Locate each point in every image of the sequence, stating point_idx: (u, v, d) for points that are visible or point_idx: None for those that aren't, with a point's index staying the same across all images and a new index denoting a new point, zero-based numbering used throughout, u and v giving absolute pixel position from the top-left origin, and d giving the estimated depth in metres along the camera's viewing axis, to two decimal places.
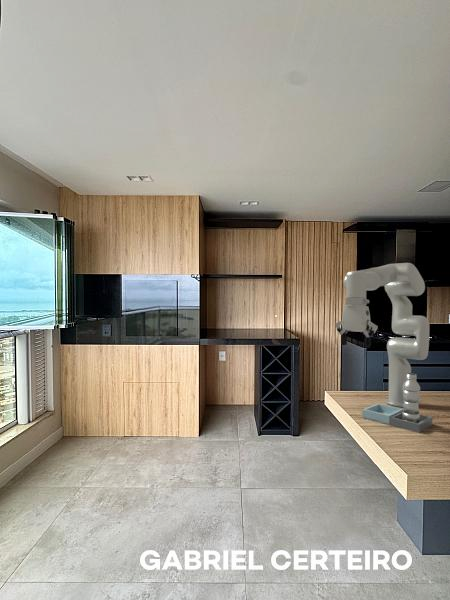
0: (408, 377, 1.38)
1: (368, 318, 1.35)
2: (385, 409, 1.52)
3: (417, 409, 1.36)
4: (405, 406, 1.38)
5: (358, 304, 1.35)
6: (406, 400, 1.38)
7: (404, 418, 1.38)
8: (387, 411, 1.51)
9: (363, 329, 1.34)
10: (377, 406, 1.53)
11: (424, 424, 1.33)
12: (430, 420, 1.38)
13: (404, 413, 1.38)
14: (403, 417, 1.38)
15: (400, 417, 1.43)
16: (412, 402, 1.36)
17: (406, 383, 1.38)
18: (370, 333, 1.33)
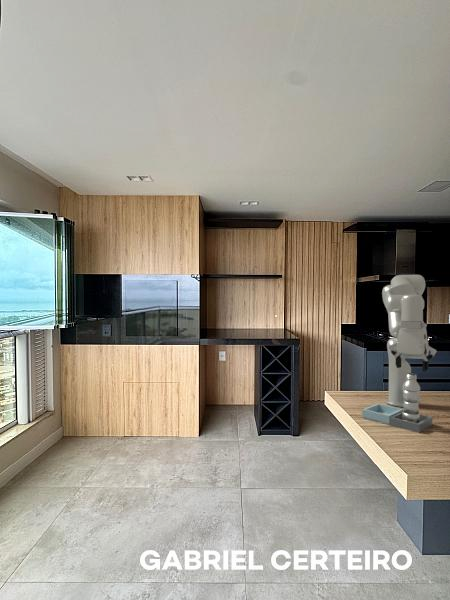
0: (408, 377, 1.38)
1: (425, 342, 1.35)
2: (385, 409, 1.52)
3: (417, 409, 1.36)
4: (405, 406, 1.38)
5: (416, 328, 1.35)
6: (406, 400, 1.38)
7: (404, 418, 1.38)
8: (387, 411, 1.51)
9: (421, 353, 1.34)
10: (377, 406, 1.53)
11: (424, 424, 1.33)
12: (430, 420, 1.38)
13: (404, 413, 1.38)
14: (403, 417, 1.38)
15: (400, 417, 1.43)
16: (412, 402, 1.36)
17: (406, 383, 1.38)
18: (428, 357, 1.33)
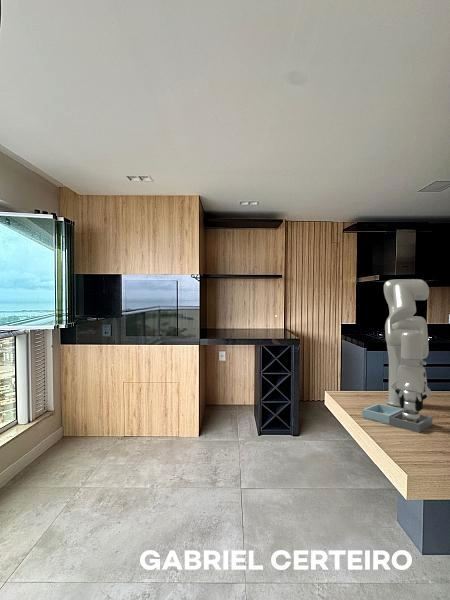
0: None
1: (425, 380, 1.35)
2: (385, 409, 1.52)
3: None
4: (405, 406, 1.38)
5: (415, 366, 1.35)
6: (406, 400, 1.38)
7: (404, 418, 1.38)
8: (387, 411, 1.51)
9: (421, 391, 1.34)
10: (377, 406, 1.53)
11: (424, 424, 1.33)
12: (430, 420, 1.38)
13: (404, 413, 1.38)
14: (403, 417, 1.38)
15: (400, 417, 1.43)
16: (411, 402, 1.36)
17: None
18: (423, 397, 1.35)
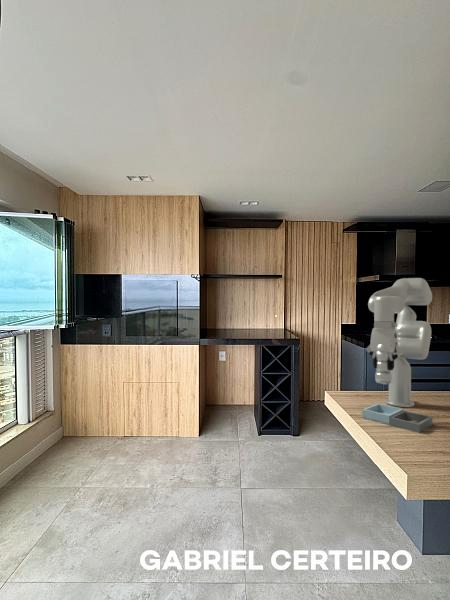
0: None
1: (396, 341, 1.44)
2: (385, 409, 1.52)
3: None
4: (378, 366, 1.46)
5: (387, 327, 1.44)
6: (378, 360, 1.46)
7: (377, 377, 1.46)
8: (387, 411, 1.51)
9: (392, 351, 1.43)
10: (377, 406, 1.53)
11: (424, 424, 1.33)
12: (430, 420, 1.38)
13: (376, 372, 1.47)
14: (376, 377, 1.47)
15: (400, 417, 1.43)
16: (383, 362, 1.45)
17: None
18: (394, 357, 1.43)
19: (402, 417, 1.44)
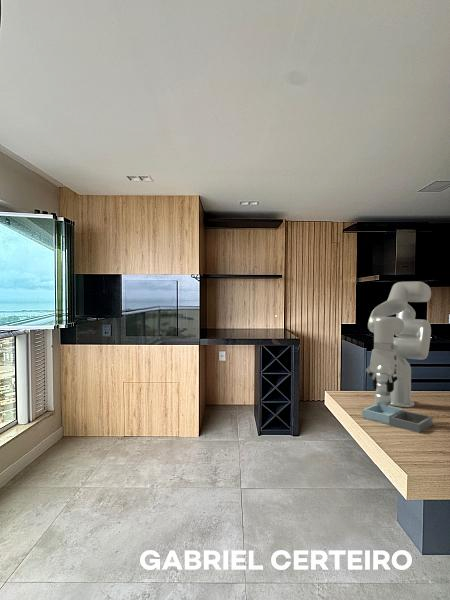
0: None
1: (396, 362, 1.44)
2: (385, 409, 1.52)
3: None
4: (377, 388, 1.46)
5: (386, 349, 1.43)
6: (378, 382, 1.46)
7: (376, 399, 1.46)
8: (387, 411, 1.51)
9: (391, 373, 1.43)
10: (377, 406, 1.53)
11: (424, 424, 1.33)
12: (430, 420, 1.38)
13: (376, 394, 1.46)
14: (375, 398, 1.46)
15: (400, 417, 1.43)
16: (383, 384, 1.45)
17: (378, 366, 1.46)
18: (393, 379, 1.43)
19: (402, 417, 1.44)
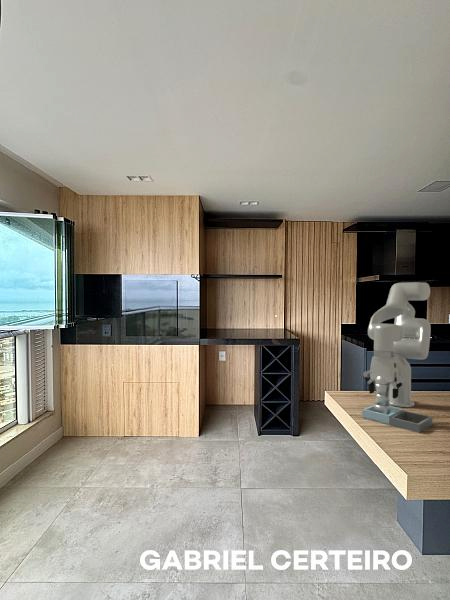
0: None
1: (396, 370, 1.44)
2: None
3: (387, 401, 1.45)
4: (376, 398, 1.47)
5: (386, 357, 1.43)
6: (377, 393, 1.46)
7: (375, 409, 1.46)
8: None
9: (391, 381, 1.43)
10: None
11: (424, 424, 1.33)
12: (430, 420, 1.38)
13: (375, 405, 1.47)
14: (375, 409, 1.47)
15: (400, 417, 1.43)
16: (382, 394, 1.45)
17: (377, 377, 1.47)
18: (398, 385, 1.42)
19: (402, 417, 1.44)
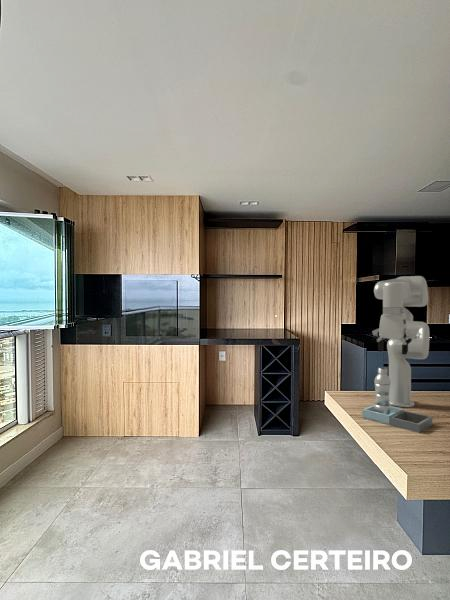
0: (379, 371, 1.46)
1: (405, 326, 1.43)
2: None
3: (387, 401, 1.45)
4: (376, 398, 1.47)
5: (395, 313, 1.43)
6: (377, 393, 1.46)
7: (375, 410, 1.46)
8: None
9: (400, 337, 1.42)
10: None
11: (424, 424, 1.33)
12: (430, 420, 1.38)
13: (375, 405, 1.47)
14: (375, 409, 1.47)
15: (400, 417, 1.43)
16: (382, 394, 1.45)
17: (377, 377, 1.47)
18: (407, 341, 1.41)
19: (402, 417, 1.44)
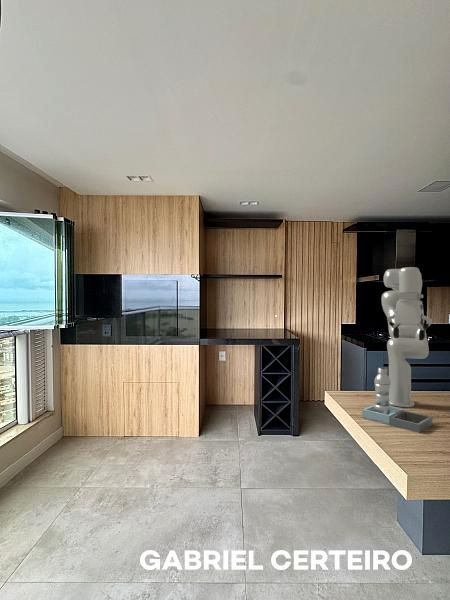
0: (379, 371, 1.47)
1: (422, 312, 1.41)
2: None
3: (387, 401, 1.45)
4: (376, 398, 1.47)
5: (413, 299, 1.41)
6: (377, 393, 1.46)
7: (375, 410, 1.46)
8: None
9: (418, 322, 1.40)
10: None
11: (424, 424, 1.33)
12: (430, 420, 1.38)
13: (375, 405, 1.47)
14: (375, 409, 1.47)
15: (400, 417, 1.43)
16: (382, 394, 1.45)
17: (377, 377, 1.47)
18: (425, 326, 1.39)
19: (402, 417, 1.44)
